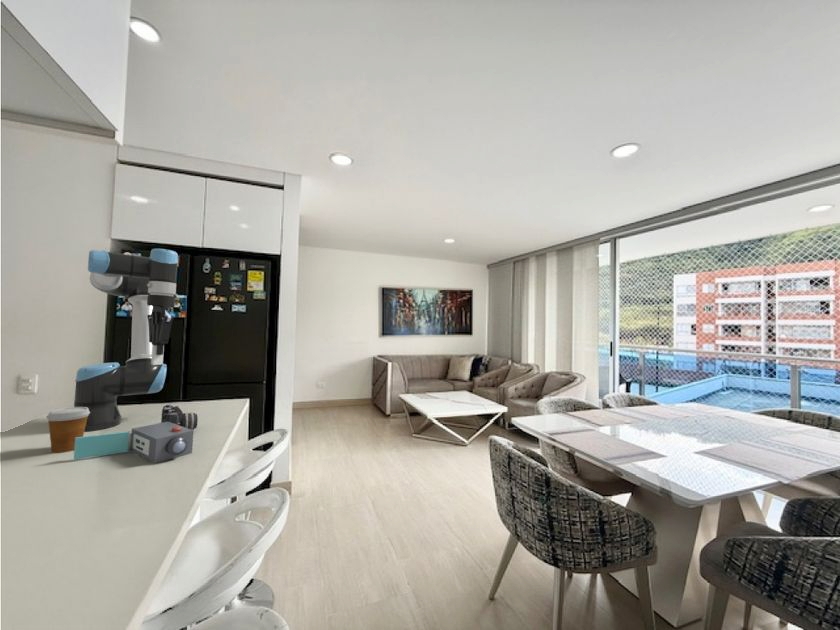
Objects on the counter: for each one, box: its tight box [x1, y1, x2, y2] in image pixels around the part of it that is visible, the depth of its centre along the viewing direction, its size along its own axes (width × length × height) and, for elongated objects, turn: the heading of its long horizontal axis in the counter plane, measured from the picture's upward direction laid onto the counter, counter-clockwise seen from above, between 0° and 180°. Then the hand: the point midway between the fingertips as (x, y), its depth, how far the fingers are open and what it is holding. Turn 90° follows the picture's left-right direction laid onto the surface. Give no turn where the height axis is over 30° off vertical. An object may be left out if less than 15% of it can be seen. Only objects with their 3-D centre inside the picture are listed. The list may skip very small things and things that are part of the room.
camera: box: [160, 404, 199, 431], centre depth 123 cm, size 14×11×10 cm
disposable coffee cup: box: [46, 406, 90, 453], centre depth 105 cm, size 10×10×12 cm
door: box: [73, 430, 132, 460], centre depth 101 cm, size 12×2×6 cm, turn 127°
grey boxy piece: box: [130, 422, 194, 464], centre depth 105 cm, size 18×10×8 cm, turn 61°
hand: (157, 364), depth 114 cm, fingers closed
